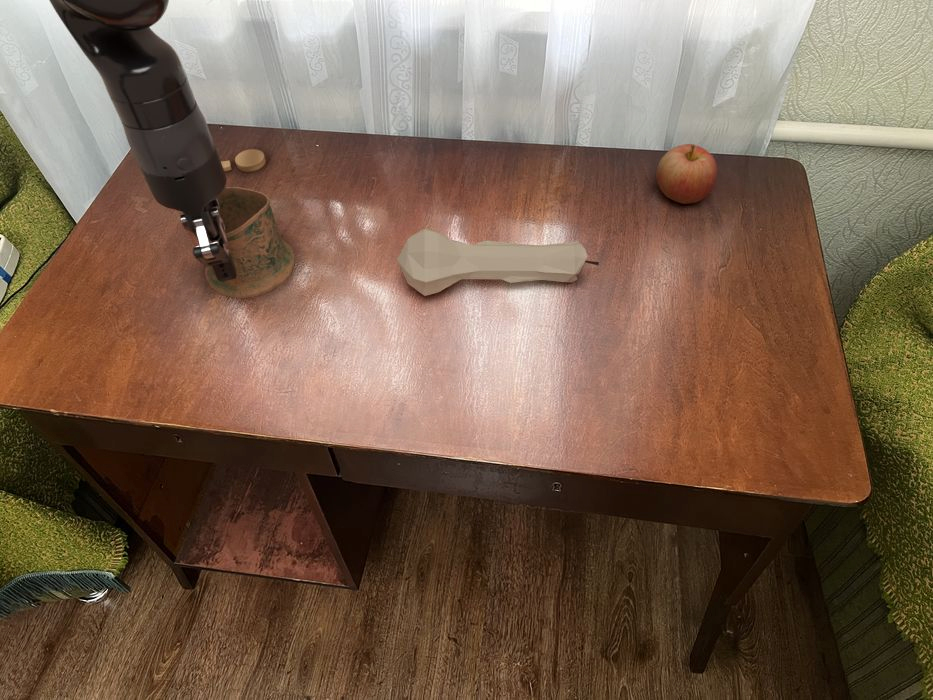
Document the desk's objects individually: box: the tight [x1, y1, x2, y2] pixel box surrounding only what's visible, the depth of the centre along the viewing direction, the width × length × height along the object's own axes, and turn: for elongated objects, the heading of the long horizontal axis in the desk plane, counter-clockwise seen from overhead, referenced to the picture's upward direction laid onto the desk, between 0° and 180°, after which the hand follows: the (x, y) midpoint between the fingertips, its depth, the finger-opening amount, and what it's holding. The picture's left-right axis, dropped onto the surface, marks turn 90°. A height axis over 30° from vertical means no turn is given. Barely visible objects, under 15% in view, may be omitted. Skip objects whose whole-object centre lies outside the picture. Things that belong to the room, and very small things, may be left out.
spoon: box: [221, 148, 267, 173], centre depth 105 cm, size 15×4×1 cm, turn 108°
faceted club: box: [396, 227, 600, 297], centre depth 86 cm, size 9×8×25 cm
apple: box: [655, 143, 718, 205], centre depth 95 cm, size 8×8×8 cm
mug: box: [175, 186, 296, 299], centre depth 88 cm, size 12×18×12 cm, turn 59°
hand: (227, 276), depth 82 cm, fingers closed
